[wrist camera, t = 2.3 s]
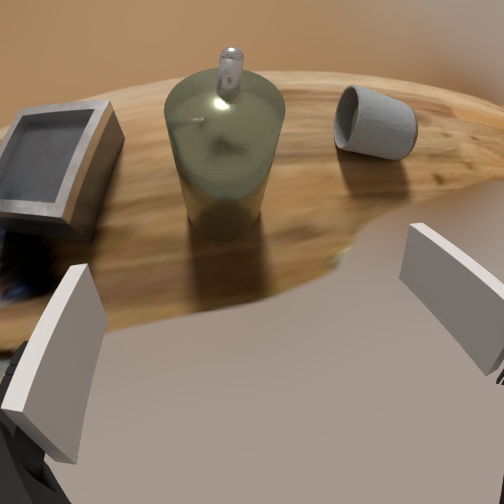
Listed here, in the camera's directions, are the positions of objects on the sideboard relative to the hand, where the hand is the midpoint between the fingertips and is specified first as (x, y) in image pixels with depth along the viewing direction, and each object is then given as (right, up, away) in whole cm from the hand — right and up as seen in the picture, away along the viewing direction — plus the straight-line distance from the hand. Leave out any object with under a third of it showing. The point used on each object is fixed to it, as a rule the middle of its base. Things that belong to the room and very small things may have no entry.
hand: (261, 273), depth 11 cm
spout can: (-3, +5, +18) cm, 19 cm away
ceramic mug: (+13, +15, +23) cm, 30 cm away
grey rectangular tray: (-23, +9, +17) cm, 30 cm away
